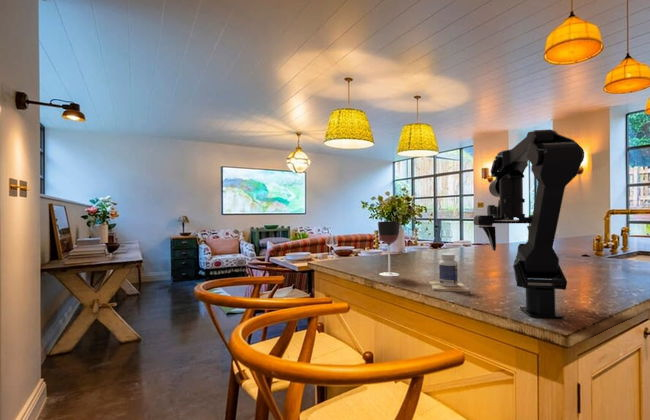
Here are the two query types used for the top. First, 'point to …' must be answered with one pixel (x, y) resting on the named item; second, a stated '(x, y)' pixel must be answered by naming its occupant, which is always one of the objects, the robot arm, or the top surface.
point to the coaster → (459, 287)
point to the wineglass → (388, 239)
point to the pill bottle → (448, 270)
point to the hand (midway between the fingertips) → (511, 250)
